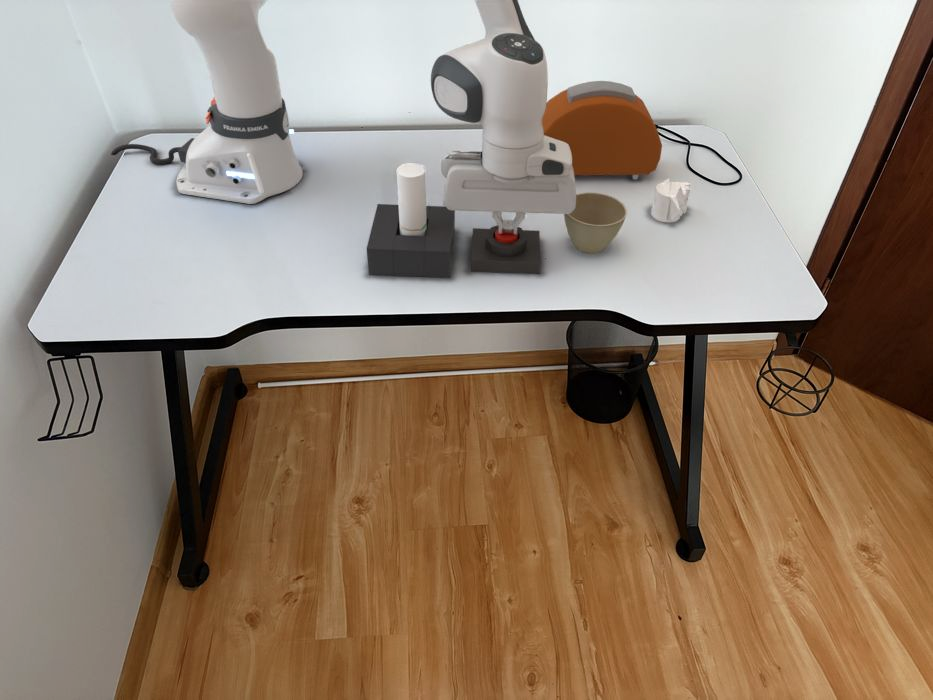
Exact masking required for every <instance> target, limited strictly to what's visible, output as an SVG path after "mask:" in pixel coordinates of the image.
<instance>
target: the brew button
mask: <svg viewBox="0 0 933 700" xmlns="http://www.w3.org/2000/svg"><path fill="white" fill-rule="evenodd" d="M495 240H496V241H499V242H501V243H513V242H516V241H517V240H518V232H517V235H515V234H499V228H498V229H497V230H496V232H495Z"/></svg>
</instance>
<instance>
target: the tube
mask: <svg viewBox="0 0 933 700" xmlns="http://www.w3.org/2000/svg"><path fill="white" fill-rule="evenodd" d="M396 184H397V202H398V204H397V205H399V223H400V235H409V236H426V234H427V224H426V222H427V220H426V206H427V189H426V185H427V184H426V168H425V166H423V164H421V163H417V162H406V163H403V164H400V165H399V166H398V167H396Z"/></svg>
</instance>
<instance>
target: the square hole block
mask: <svg viewBox="0 0 933 700" xmlns="http://www.w3.org/2000/svg"><path fill="white" fill-rule="evenodd" d="M374 213H375V214H374V216H373V222H372V225H371V229H370V233H369V237H368V241H367V245H366V256H367V268H368V270H367V271H368V275H370V276H389V277H391V276H392V277H418V278H419V277H420V278H442V279H451V273H452V263H453V253H454V243H455V233H456V211H455V210H448V209H447V208H446V206H445V205H443V206H442V205H426V220H427V222H426V224H427V234H426V236H409V235H400V223H399V205H398V204H391V203H389V204H387V203H378V204H377V205H376V209H375V212H374Z"/></svg>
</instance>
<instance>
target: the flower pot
mask: <svg viewBox="0 0 933 700" xmlns="http://www.w3.org/2000/svg"><path fill="white" fill-rule="evenodd" d="M627 213H628V211H627V207H626V205H625V204H624V203H623V202H622V201H621V200H619V199H618V198H616V197H614V196H612V195H609V194H605V193H602V192H592V191H591V192H589V191H588V192H579V193H576V207H575V209H574V210H573V211H572V212H571V213H570V214H563V217H564V224H565V228H566V231H567V234H568V237H569V239H570V241H571V243H572V244H573V246H574V248H575V249H577V250H578V251H579V252H582V253H583V254H591V255H593V254H594V255H595V254H599V253H601V252H603V251H604V250H605V249H607V247H608V246H609V245H610V244H611V243H612V242H613V240H614V239H615V238H616V237H617V235H618V234H619V232H620V230H621V228H622V226H623V224H624V222H625V220H626V218H627V217H626V216H627Z"/></svg>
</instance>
